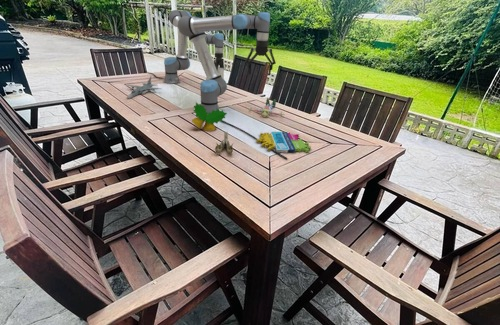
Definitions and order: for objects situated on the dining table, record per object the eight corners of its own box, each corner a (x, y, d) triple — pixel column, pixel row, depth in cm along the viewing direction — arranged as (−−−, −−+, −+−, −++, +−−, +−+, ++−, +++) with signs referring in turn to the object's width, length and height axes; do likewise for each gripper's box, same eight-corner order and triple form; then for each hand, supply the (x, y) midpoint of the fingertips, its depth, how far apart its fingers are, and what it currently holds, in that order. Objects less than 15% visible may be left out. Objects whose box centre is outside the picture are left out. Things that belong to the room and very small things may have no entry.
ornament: (218, 133, 171) (224, 110, 169) (221, 134, 163) (227, 111, 161) (186, 125, 162) (192, 101, 160) (189, 126, 155) (195, 101, 153)
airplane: (121, 88, 233) (119, 76, 228) (157, 85, 246) (156, 75, 241) (125, 101, 205) (123, 88, 199) (166, 97, 218) (165, 85, 213)
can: (212, 83, 242) (212, 68, 236) (216, 81, 250) (216, 67, 243) (221, 84, 240) (221, 69, 234) (224, 82, 248) (225, 68, 241)
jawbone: (234, 135, 144) (233, 125, 135) (233, 160, 138) (232, 151, 129) (217, 135, 144) (216, 125, 135) (216, 160, 138) (214, 150, 129)
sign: (313, 150, 142) (258, 149, 139) (312, 153, 143) (258, 152, 140) (301, 132, 164) (254, 130, 161) (301, 134, 165) (254, 133, 162)
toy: (288, 100, 208) (284, 110, 182) (287, 109, 211) (283, 120, 186) (254, 96, 213) (245, 105, 187) (254, 104, 216) (245, 115, 190)
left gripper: (216, 54, 222) (216, 81, 233) (228, 52, 240) (227, 77, 251) (208, 53, 224) (209, 80, 235) (221, 51, 242) (220, 76, 253)
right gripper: (279, 40, 172) (276, 73, 183) (242, 38, 168) (240, 72, 179) (282, 41, 166) (278, 76, 176) (243, 39, 162) (242, 74, 172)
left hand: (218, 78), depth 243 cm, fingers closed on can, 9 cm apart
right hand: (259, 74), depth 177 cm, fingers open, 13 cm apart
